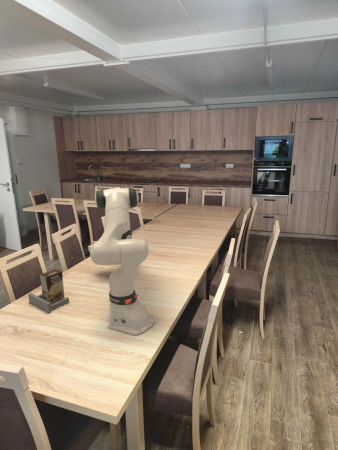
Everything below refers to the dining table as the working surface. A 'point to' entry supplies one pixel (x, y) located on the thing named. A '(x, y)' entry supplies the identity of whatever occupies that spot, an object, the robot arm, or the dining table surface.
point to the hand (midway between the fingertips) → (92, 253)
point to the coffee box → (52, 286)
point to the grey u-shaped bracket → (45, 305)
